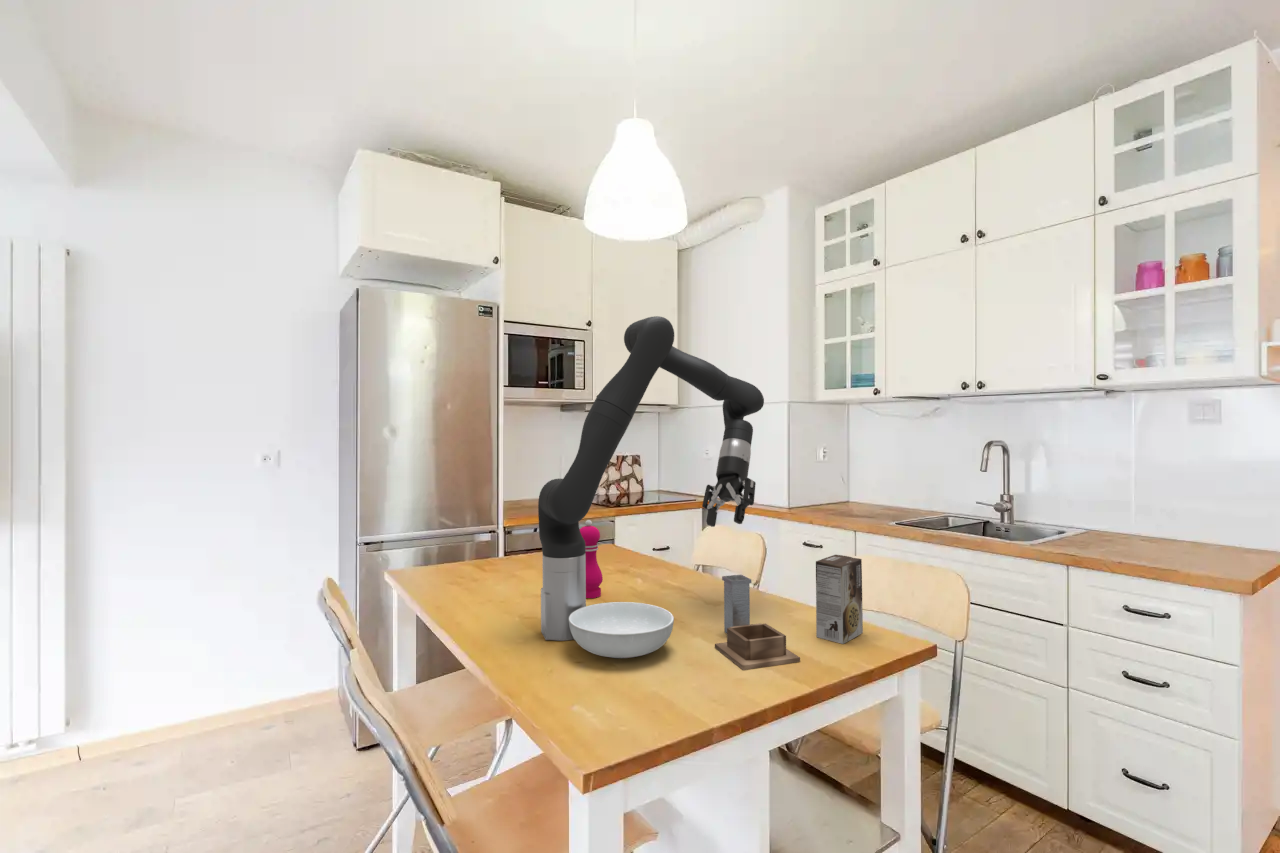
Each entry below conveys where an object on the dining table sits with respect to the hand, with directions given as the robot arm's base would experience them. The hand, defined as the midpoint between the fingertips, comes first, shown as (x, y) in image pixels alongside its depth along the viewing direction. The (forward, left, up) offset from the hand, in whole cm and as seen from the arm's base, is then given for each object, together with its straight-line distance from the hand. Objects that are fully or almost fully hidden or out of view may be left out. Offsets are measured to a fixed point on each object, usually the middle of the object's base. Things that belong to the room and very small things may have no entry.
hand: (724, 524), depth 142 cm
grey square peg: (-2, -11, -22) cm, 24 cm away
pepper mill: (-25, +29, -22) cm, 44 cm away
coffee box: (+18, -19, -22) cm, 34 cm away
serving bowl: (-28, -12, -22) cm, 38 cm away
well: (-4, -23, -22) cm, 32 cm away
